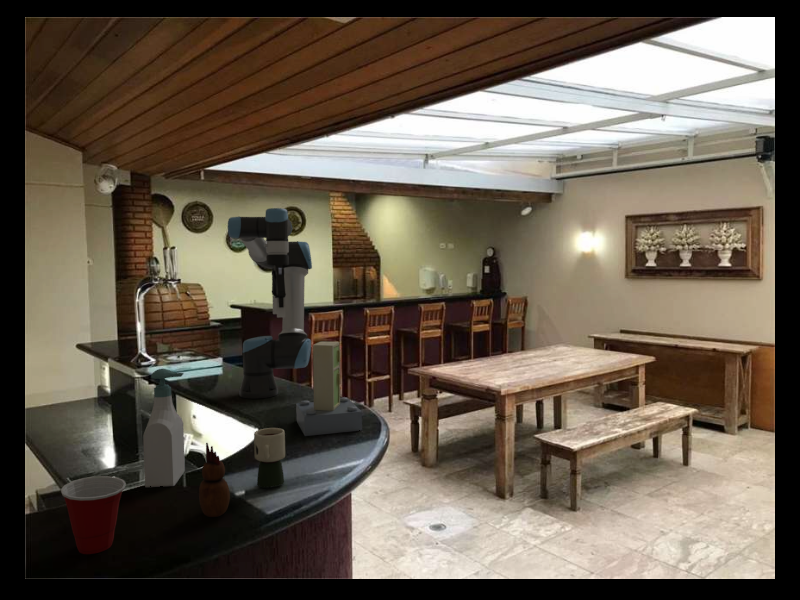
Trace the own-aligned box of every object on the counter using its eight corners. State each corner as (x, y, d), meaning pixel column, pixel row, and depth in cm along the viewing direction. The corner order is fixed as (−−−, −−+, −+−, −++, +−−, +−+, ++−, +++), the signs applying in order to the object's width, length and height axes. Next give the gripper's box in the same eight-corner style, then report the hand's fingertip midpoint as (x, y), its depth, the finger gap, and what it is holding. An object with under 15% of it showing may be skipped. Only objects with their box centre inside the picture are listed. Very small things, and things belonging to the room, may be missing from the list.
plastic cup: (114, 560, 106) (111, 494, 105) (51, 562, 105) (48, 497, 104) (137, 532, 116) (135, 473, 116) (80, 534, 116) (78, 474, 115)
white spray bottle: (181, 486, 140) (177, 372, 139) (145, 488, 139) (140, 373, 138) (192, 470, 151) (188, 364, 150) (158, 471, 150) (154, 365, 149)
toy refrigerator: (335, 411, 186) (334, 345, 185) (313, 410, 188) (312, 344, 186) (342, 405, 194) (341, 341, 193) (321, 404, 195) (320, 341, 194)
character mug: (259, 477, 146) (258, 425, 145) (288, 476, 146) (287, 425, 145) (251, 495, 135) (249, 439, 134) (282, 493, 135) (281, 438, 134)
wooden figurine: (196, 511, 126) (193, 442, 125) (223, 505, 129) (220, 437, 128) (205, 523, 120) (203, 450, 119) (233, 515, 124) (231, 445, 123)
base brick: (296, 421, 197) (296, 400, 197) (349, 416, 203) (349, 396, 202) (304, 435, 180) (304, 413, 180) (361, 430, 186) (361, 408, 185)
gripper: (263, 254, 213) (264, 313, 214) (269, 253, 189) (271, 319, 191) (284, 254, 215) (285, 312, 217) (293, 253, 191) (294, 318, 193)
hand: (278, 315), depth 204 cm, fingers open, 13 cm apart
